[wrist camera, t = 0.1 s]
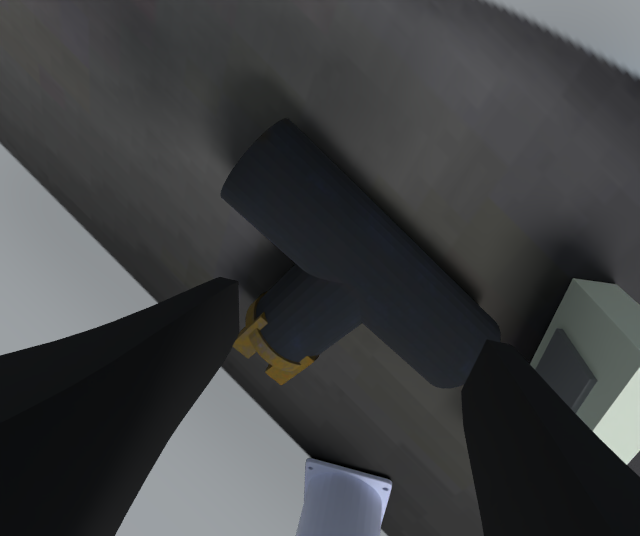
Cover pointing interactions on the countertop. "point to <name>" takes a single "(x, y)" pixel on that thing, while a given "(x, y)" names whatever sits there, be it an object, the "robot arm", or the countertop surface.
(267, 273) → the countertop surface
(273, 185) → the pipe connector
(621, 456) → the block
